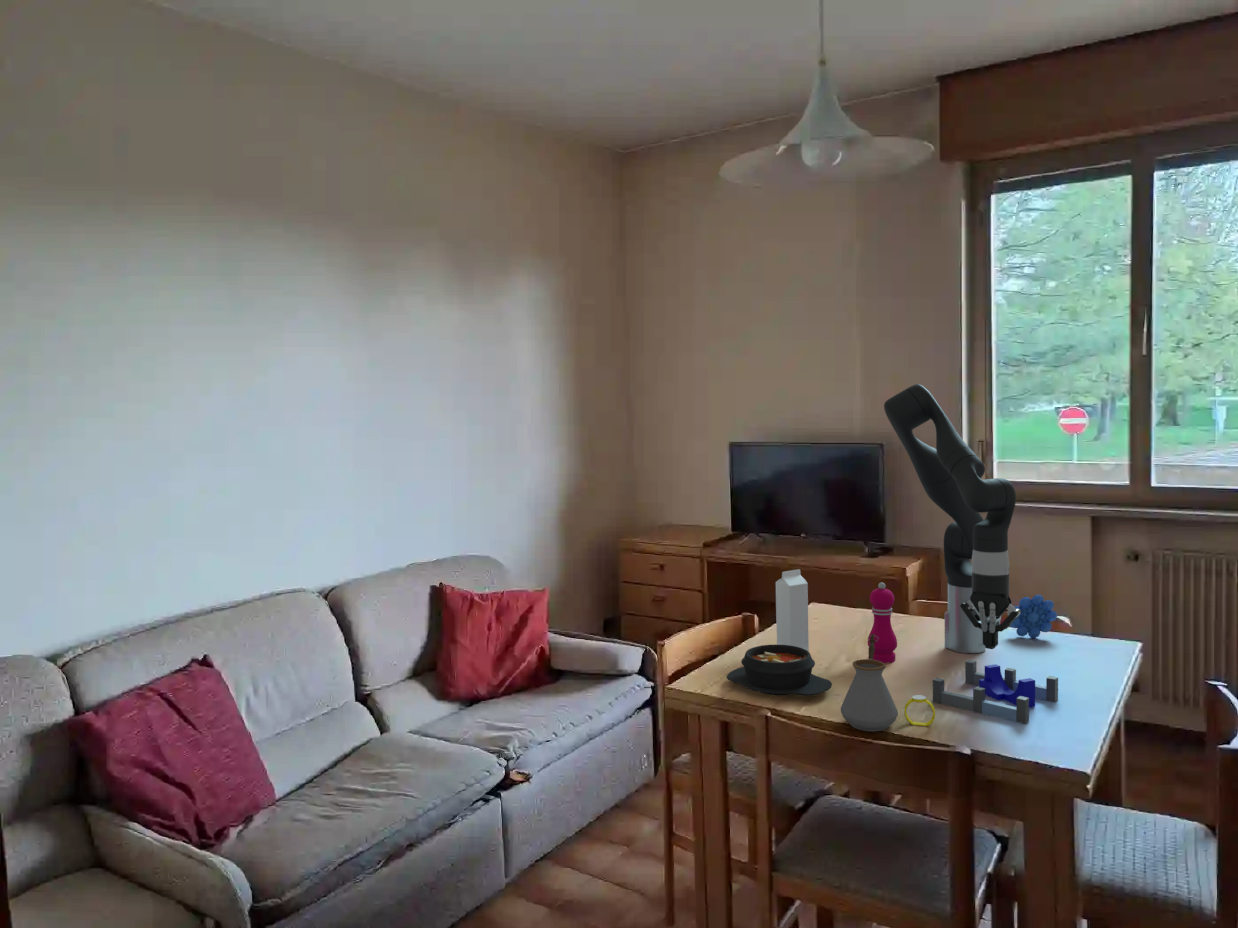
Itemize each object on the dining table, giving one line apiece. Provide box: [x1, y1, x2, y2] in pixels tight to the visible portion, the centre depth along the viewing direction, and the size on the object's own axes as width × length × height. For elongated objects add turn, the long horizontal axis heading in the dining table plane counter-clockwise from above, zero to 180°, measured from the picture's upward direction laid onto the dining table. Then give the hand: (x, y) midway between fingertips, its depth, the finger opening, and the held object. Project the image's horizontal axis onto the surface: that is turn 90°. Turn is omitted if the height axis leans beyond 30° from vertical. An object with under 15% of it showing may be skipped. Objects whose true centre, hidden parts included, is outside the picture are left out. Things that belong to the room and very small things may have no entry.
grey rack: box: [932, 659, 1059, 725], centre depth 193 cm, size 20×18×5 cm
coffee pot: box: [840, 634, 899, 732], centre depth 187 cm, size 21×12×15 cm, turn 160°
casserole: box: [726, 644, 833, 697], centre depth 206 cm, size 25×19×8 cm
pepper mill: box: [867, 582, 898, 664], centre depth 224 cm, size 7×7×20 cm
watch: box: [903, 694, 936, 727], centre depth 181 cm, size 6×3×6 cm, turn 71°
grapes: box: [1009, 594, 1058, 639], centre depth 239 cm, size 12×7×12 cm, turn 69°
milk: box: [775, 568, 810, 653], centre depth 232 cm, size 6×6×22 cm
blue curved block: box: [978, 663, 1036, 709], centre depth 194 cm, size 12×4×6 cm, turn 17°
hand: (990, 647), depth 193 cm, fingers closed
